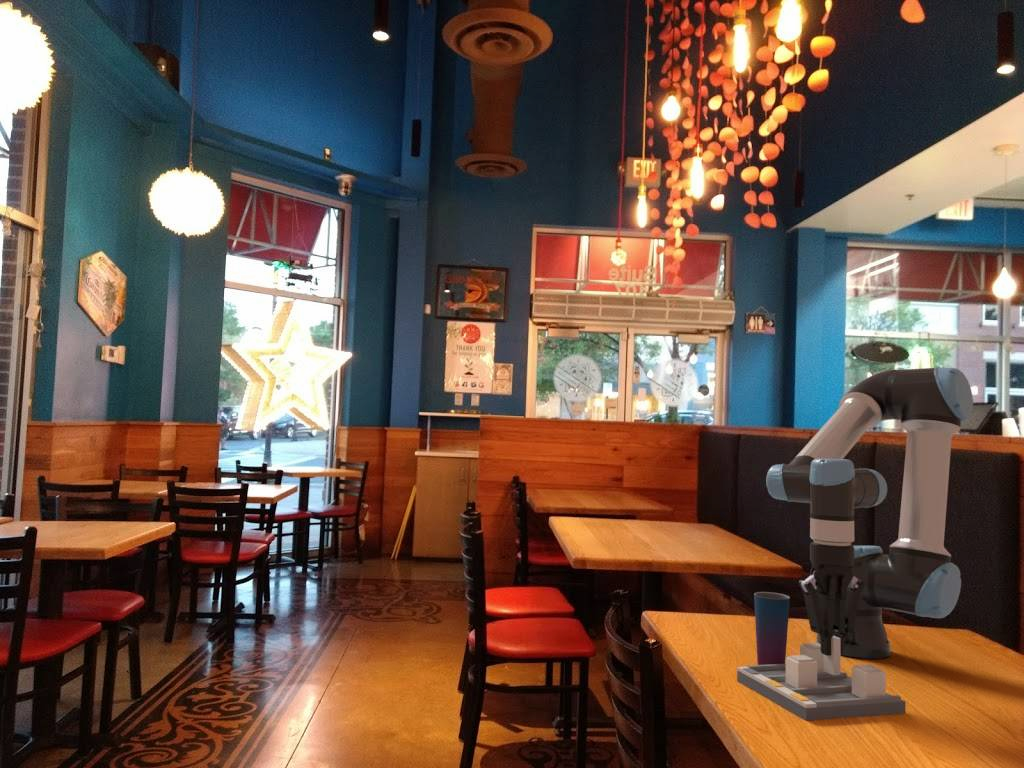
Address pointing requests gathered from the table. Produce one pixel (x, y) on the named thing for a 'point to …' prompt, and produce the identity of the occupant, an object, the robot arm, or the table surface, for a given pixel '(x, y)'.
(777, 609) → the cup
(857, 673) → the tab
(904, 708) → the switch bank
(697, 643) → the table surface
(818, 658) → the tab
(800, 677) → the tab middle
